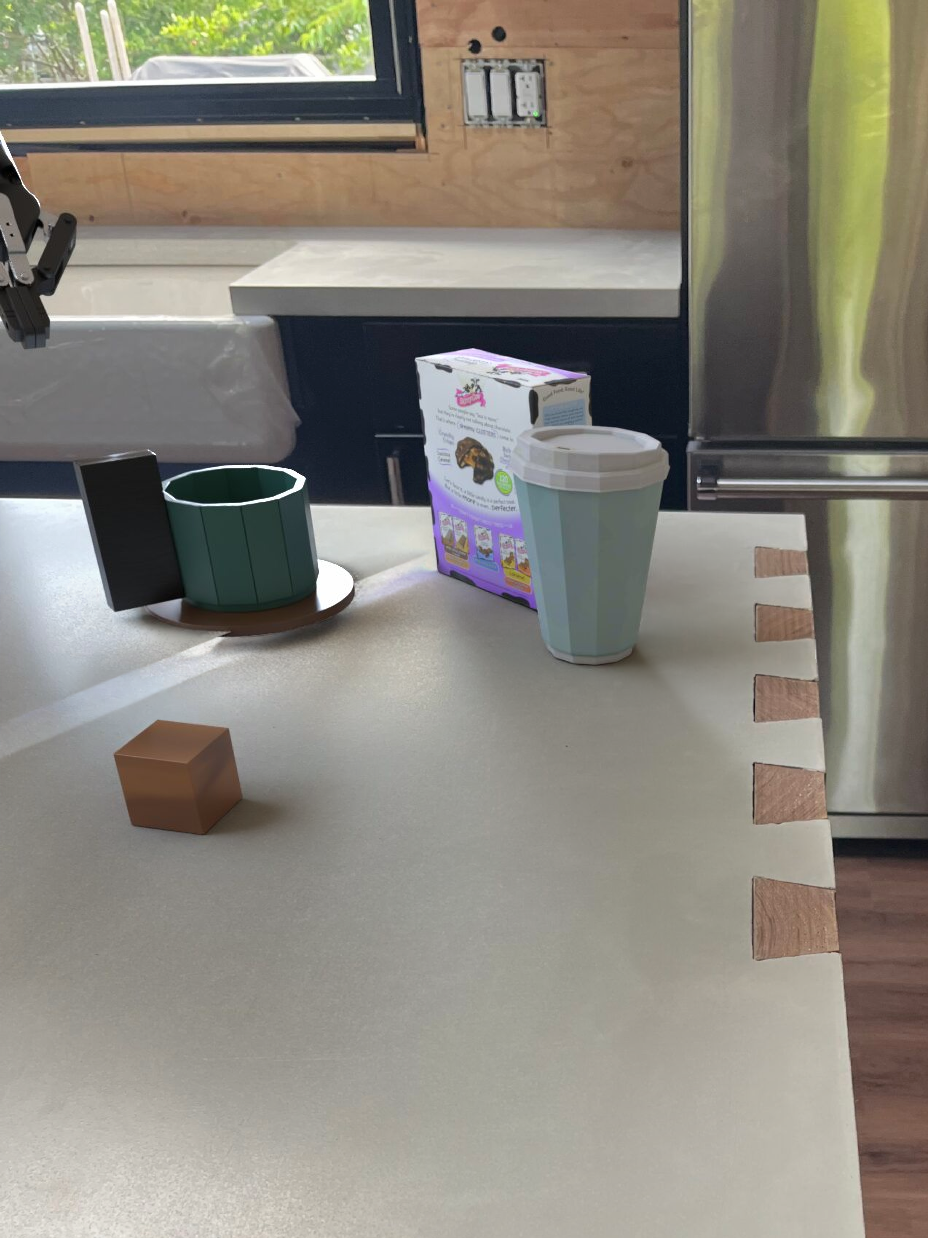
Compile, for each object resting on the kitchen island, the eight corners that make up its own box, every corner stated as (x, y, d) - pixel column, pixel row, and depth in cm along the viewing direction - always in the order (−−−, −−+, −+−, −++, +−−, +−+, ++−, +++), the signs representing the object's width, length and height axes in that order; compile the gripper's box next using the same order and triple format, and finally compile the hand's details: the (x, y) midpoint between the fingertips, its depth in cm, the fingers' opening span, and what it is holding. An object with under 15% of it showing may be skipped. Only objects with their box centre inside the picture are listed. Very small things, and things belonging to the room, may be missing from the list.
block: (203, 835, 73) (187, 763, 70) (131, 825, 74) (112, 753, 71) (243, 797, 76) (229, 727, 74) (173, 788, 77) (157, 719, 75)
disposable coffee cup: (557, 612, 101) (548, 405, 92) (691, 633, 98) (694, 421, 90) (494, 665, 93) (477, 442, 84) (638, 688, 90) (636, 461, 81)
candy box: (600, 597, 104) (595, 373, 94) (542, 616, 100) (530, 385, 91) (490, 554, 112) (474, 343, 102) (432, 570, 108) (411, 353, 99)
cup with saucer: (305, 552, 108) (282, 405, 102) (390, 607, 98) (370, 448, 92) (83, 597, 99) (42, 438, 93) (152, 662, 89) (112, 490, 83)
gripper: (-164, 94, 91) (-66, 316, 90) (38, 91, 98) (131, 298, 97) (-153, 176, 97) (-61, 384, 96) (36, 168, 104) (124, 363, 103)
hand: (35, 341), depth 97 cm, fingers closed
